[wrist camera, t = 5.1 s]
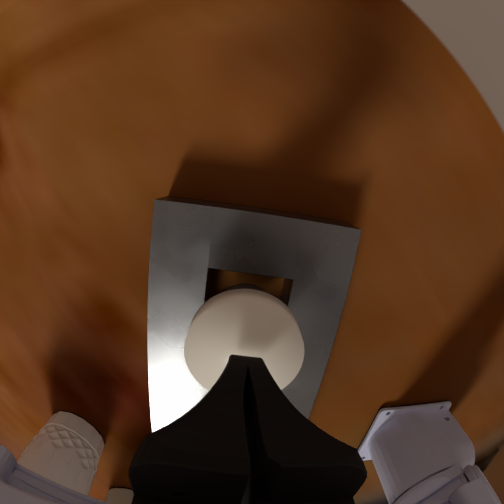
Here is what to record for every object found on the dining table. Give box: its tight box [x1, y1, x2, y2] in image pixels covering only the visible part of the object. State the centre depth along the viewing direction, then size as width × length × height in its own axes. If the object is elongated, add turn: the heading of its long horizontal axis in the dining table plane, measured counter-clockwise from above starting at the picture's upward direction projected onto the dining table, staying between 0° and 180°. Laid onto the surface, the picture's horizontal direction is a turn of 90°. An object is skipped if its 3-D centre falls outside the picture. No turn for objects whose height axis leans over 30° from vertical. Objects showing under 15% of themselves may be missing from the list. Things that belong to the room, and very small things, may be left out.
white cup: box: [16, 411, 105, 496], centre depth 20 cm, size 8×8×10 cm
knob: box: [184, 284, 304, 390], centre depth 16 cm, size 6×6×5 cm
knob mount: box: [148, 196, 361, 432], centre depth 21 cm, size 12×24×3 cm, turn 172°
